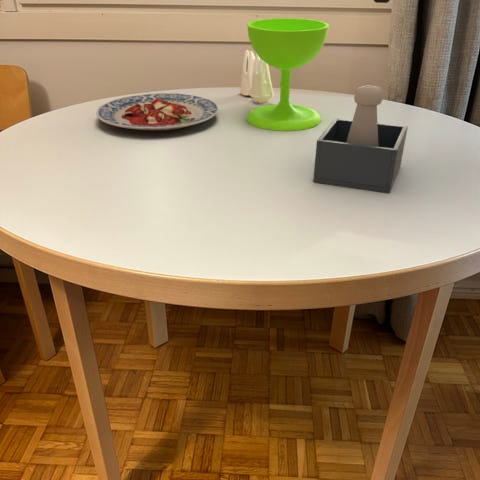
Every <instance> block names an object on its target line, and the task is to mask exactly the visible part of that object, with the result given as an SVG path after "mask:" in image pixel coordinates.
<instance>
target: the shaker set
mask: <svg viewBox="0 0 480 480" xmlns="http://www.w3.org/2000/svg"><path fill="white" fill-rule="evenodd" d="M240 78H241V79H240V86H239V87H240V89H239V95H240V94H241V95H242V96H250V97H251V98H252V99H253V100H254V101H256V102H257V103H258V104H262V103H265V102H267V101H269V100H271V99H272V98H273V97H275V94H274V88H273V83H272V78H271V74H270V65H268V64H267V63H265V62H264V61H263V60H262V59H261V58H260V57H259V56H258V55H257V53H256V52H255V54H254V52H253V51H252V50H250V51H249V49H247V50H245V51H244V54H243V61H242V70H241V77H240Z"/></svg>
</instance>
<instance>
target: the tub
mask: <svg viewBox="0 0 480 480" xmlns="http://www.w3.org/2000/svg"><path fill="white" fill-rule="evenodd" d="M352 121H353V119H343V118H334V119H333V120H332V121H331V123H330V124H329V125H328V126H327V127H326V129H325V130H324V131H323V132H322V134H321V135H320V136H319V137H318V139H317V140H316V147H315V157H314V169H313V181H312V182H313V183H318V184H325V185H332V186H339V187H344V188H345V187H346V188H352V189H359V190H365V191H373V192H380V193H385V194H386V193H387V194H391V191H392V189H393V186H394V183H395V181H396V179H397V176H398V173H399V171H398V170H400V168H401V166H400V165H402V160H403V155H404V148H405V144H406V138H407V133H408V128H409V127H408V126H407V125H398V124H389V123H380V122H377V124H378V147H377V146H369V145H360V144H352V143H346V141H347V138H348V135H349V131H350V128H351V124H352Z"/></svg>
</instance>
